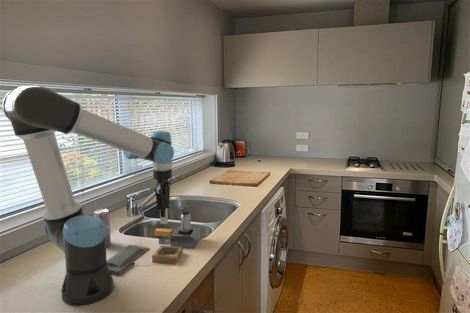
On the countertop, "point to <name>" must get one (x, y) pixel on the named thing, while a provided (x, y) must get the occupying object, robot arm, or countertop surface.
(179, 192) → the countertop surface
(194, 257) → the countertop surface
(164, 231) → the block
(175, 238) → the socket block
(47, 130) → the robot arm
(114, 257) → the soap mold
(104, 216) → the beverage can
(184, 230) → the gray rectangular bar
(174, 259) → the square wooden tray
